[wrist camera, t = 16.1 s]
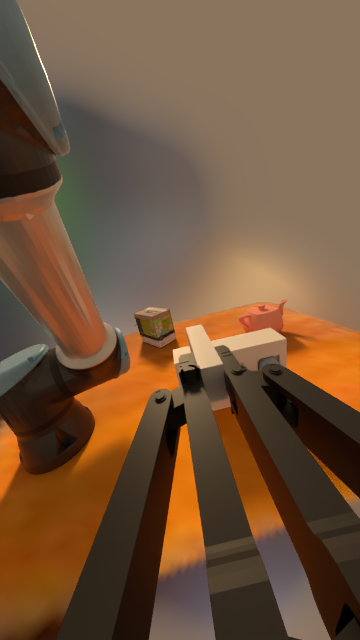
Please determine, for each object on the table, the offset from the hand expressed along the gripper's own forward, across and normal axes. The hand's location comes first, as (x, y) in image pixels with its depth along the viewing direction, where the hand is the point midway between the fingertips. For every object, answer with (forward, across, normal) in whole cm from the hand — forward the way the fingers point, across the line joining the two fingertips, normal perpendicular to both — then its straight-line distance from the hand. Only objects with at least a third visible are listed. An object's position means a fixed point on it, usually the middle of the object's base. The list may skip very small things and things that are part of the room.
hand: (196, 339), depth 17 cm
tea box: (+61, -12, -28) cm, 69 cm away
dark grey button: (+16, +16, -21) cm, 31 cm away
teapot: (+46, +31, -28) cm, 63 cm away
